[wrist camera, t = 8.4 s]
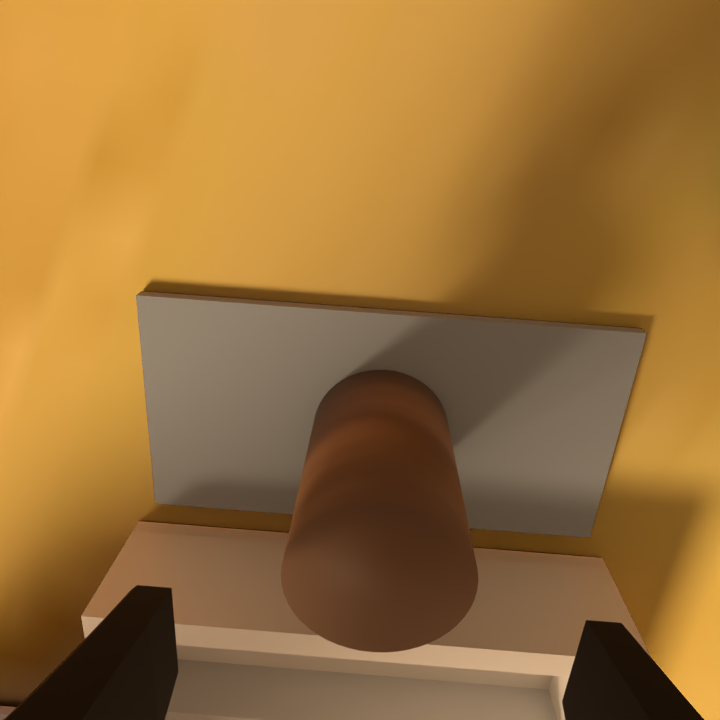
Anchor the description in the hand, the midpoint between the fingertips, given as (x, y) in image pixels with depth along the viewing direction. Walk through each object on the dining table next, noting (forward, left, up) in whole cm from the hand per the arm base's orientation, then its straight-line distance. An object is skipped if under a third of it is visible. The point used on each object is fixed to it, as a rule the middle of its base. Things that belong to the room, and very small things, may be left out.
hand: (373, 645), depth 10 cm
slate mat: (0, 0, -8) cm, 8 cm away
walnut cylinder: (0, 0, -8) cm, 8 cm away
